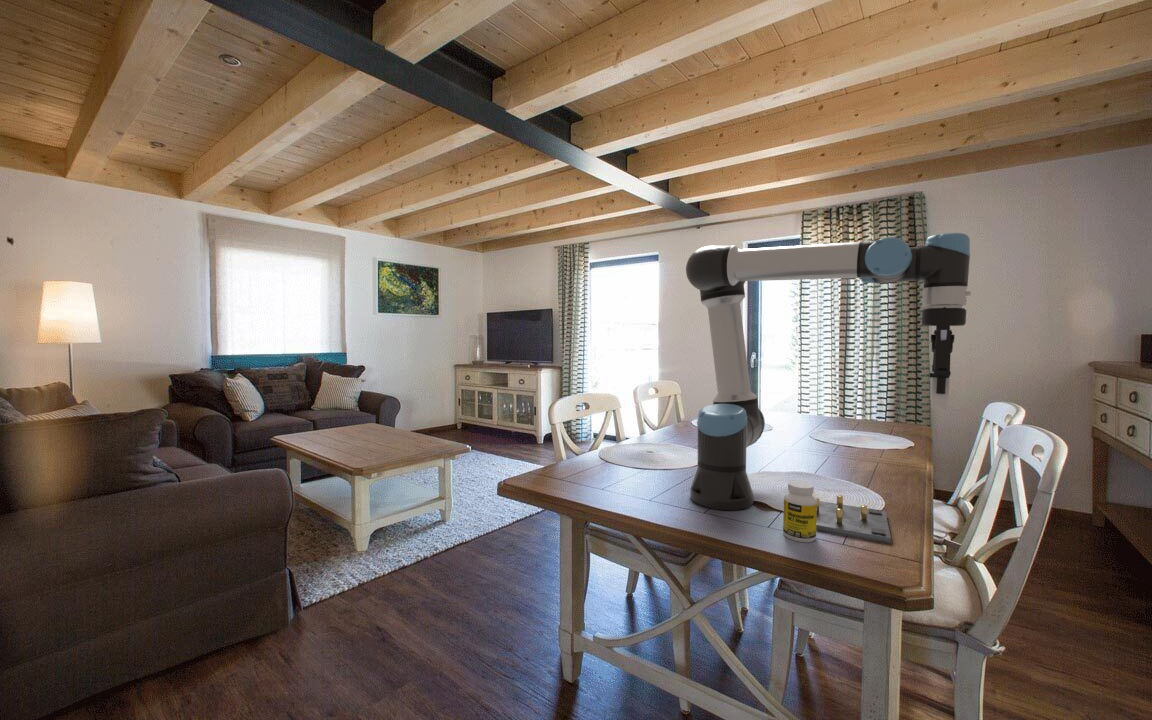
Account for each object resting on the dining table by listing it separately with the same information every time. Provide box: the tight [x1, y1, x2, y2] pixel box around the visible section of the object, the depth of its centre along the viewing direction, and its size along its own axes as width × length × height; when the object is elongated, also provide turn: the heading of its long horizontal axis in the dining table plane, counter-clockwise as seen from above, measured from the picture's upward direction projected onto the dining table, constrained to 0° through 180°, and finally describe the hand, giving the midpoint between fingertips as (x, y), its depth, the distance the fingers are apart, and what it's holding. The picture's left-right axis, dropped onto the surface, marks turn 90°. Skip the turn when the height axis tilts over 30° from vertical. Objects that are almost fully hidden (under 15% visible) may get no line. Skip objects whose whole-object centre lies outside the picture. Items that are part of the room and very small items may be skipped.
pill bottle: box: [782, 480, 817, 543], centre depth 97 cm, size 6×6×11 cm
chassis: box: [815, 494, 892, 545], centre depth 105 cm, size 18×16×4 cm
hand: (938, 405), depth 103 cm, fingers open, 13 cm apart
